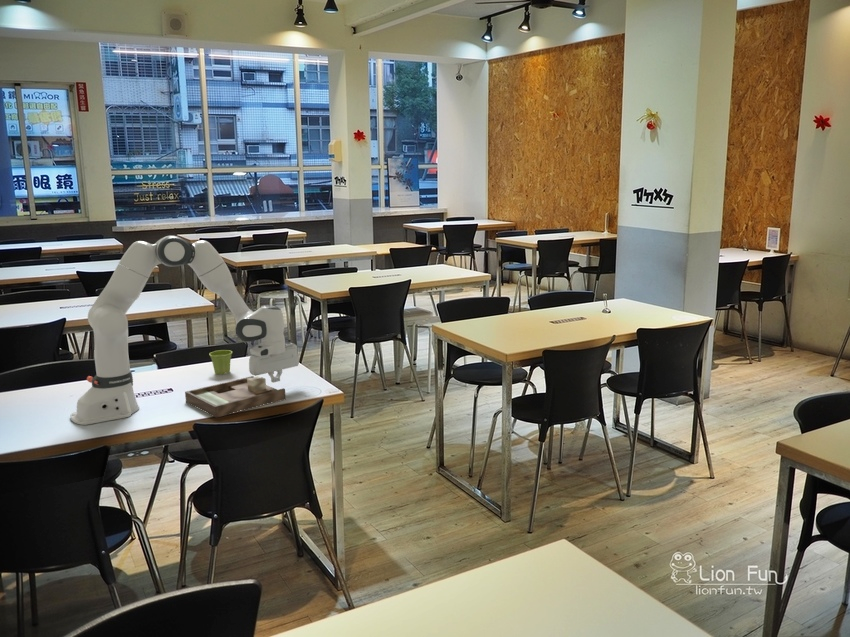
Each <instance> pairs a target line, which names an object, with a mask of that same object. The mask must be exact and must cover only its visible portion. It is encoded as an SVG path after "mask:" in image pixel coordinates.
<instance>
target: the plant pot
mask: <svg viewBox="0 0 850 637" xmlns="http://www.w3.org/2000/svg"><path fill="white" fill-rule="evenodd" d="M232 355H233V351H232V350H229V349H220V350H214V351H212V352H209V357H210V359H211V362H212V366H213V371H214V374H216V375H225V374H229V373H230V372H231V360H232Z"/></svg>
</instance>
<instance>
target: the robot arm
mask: <svg viewBox="0 0 850 637" xmlns="http://www.w3.org/2000/svg"><path fill="white" fill-rule="evenodd" d="M158 265H164V266H166V267H170V268H171V267H173V268H175V267H181V266H185V265H188V266H189V267H190V268H191V269H192V270H193V271H194V273H195V274H196V277H197V278H198V279H199V281H200V282H201V283H202V284H201V285H203V286H204V287H205V289H207V290H208V291H209V292H211V293H214V294H216V295H217V296H219V298H221V299H222V301H224V303H225V305H226V306H227V307H228V309H229V311H230V312H231V314H232V315H233V317H234V324H235V334H236V336H237V338H239V340H241V341H243V342H247V343H248V342H253V341H254V342H255V341H259V340H261V342H260V343H258V344H256V345H254V346H253V347H251V348H250V349H249V354H251V355H250V357H249V359H248V360H249V362H248V368H249V369H248V372H249V373H250V374H251V375H252V376H254V377H257V376H261V375H264V374H268V376H269V377H270V379H271V380H270V381H271V383H273V384H274V383H278V382H281V376H282V373H283V370H285V369H291V368H295V367H298V366H299V364H300V358H299V353H298V345H297V344H295V343H294V342H291V343H286V338H285V337H286V336H285V335H284V334H285V332H284V330H285V320H284V315H283V311H282V309H281V308H280V307H278V306H276V305H272V304H266V305H263V304H262V305H261V306H260V307H259V308H258V309H257V310H253V309H252V308H250V307H249V306H248V305H247V303H246V302H245V300H244V298H243V297H242V295H241V294H240V293H239V291H238V290H237V287H236V286H235V283H234V279H233V276H232V273H231V271H230V269H229V267H228V266H227V264H226V262H225V261H224V259H223V258H222V256H221V255H220V253H219V252H218V251H217V249H216V248H215V247H214V246H213V245H212V244H211V243H210V242H209V241H207V240H203V239H202V240H198V241H195V242H192V243H191V242H189V241H187V240H185V239H184V238H181V237H180V236H178V235H175V234H174V235H172V234H171V235H166V236H164V237H161V238H159V239H158V240H157V241H155V242H154V243H150V242H147V241H144V240H137V241H135V242H133V243H131V245H130V246H129V247H128V249H127V250H126V251H125V252H124V254H123V255H122V257H121V258H120V260H119V262H118V264H117V265H116V267H115V269H114V271H113V273H112V275H111V277H110V279H109V280H108V282H107V284H106V285H105V287H104V288H103V289H102V291H101V292H100V294H99V295H98V297H97V298H96V299H95V301H94V303H93V305H91V307H90V309H89V310H88V313H87V322H88V324H89V326H90V327H91V328H92V331H93V336H94V337H93V342H94V345H93V346H94V349H93V350H94V352H93V355H94V356H93V357H94V364H95V365H94V366H95V372H96V374H95V375H94V377H93V376H92V375H91V376H90V375H88V376H87V377H86V381H87V382H88V383H90V384H91V387H90V388H89V389H88V390H87V391H86V392H84V393H83V394H82V395H80V397H79V398H78V400H77V402H76V411H74V412H72V413H71V414H70V418H69V419H70V420H71V422H73V423H75V424H78V425H81V426H84V425H85V426H86V425H87V426H88V425H92V424H98V423H103V422H109V421H113V420H119V419H125V418H129V417H131V416H132V415H131V414H134V413H136V412H137V411H139V410H140V406H139V404H138V401H137V398H136V396H135V392H134V387H133V386H134V383H133V382H134V378H133V373H132V370H131V368H130V367H131V366H130V358H129V322H128V321H129V320H128V317H127V315H126V314H127V312H128V311H129V309H130V308H131V307H132V306H133V304H134V303H135V301H136V300H138V298H139V297H140V295H141V294H142V292H143V290H144V288H145V287H146V285H147V284H146V283H147V282H148V280H149V279H150V276H151V274H152V272H153V271H154V269H155V267H157V266H158ZM275 372H277V373H276V376H274V375H275Z"/></svg>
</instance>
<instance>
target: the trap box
mask: <svg viewBox="0 0 850 637" xmlns="http://www.w3.org/2000/svg"><path fill="white" fill-rule="evenodd" d="M253 377H255V375H252V376H251V375H250V376H245V377H242V378H237V379H234V380H229V381H226V382H225V381H224V382H221V383H216V384H212V385H209V386H204V387H198V388H195V389H191V390H187V391H184V394H185V402H186V403H187V404H189V405H191V404H192V405H191V406H193V405H194V406H193V407H195V406H196V407H198V408H200V409H202V410H204V411H206V412H208V413H209V414H208V413H207V414H208V415H210V414H211V415H210V416H212V415H213V416H212V417H213V418H220V417H223V416H228V415H231V414H230V413H232V414H234V413H233V412H236V413H238V412H237V411H240V410H243V411H245V410H244V409H247V410H249V409H248V408H251V409H253V408H252V407H255V408H257V407H256V406H258V407H261V406H260V405H262V406H264V405H263V404H266V405H268V404H267V403H270V404H272V403H271V402H273V403H276V401H277V402H280V400H281V401H283V400H284V399H285V400H286V388H280V389H277V388H274V387H271V386H269V385H267V384H266V389H263V390H259V391H255V392H254V391H251V390H249V389H248V385H247V379H248V378H253ZM196 407H195V408H196ZM198 408H197V409H198ZM200 409H199V410H200ZM202 410H201V411H202ZM204 411H203V412H204ZM206 412H205V413H206ZM240 412H241V411H240ZM227 414H228V415H227Z"/></svg>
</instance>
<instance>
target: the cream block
mask: <svg viewBox="0 0 850 637" xmlns="http://www.w3.org/2000/svg"><path fill="white" fill-rule="evenodd" d="M266 383H267V382H266V378H264V377H262V376H261V375H257V376H254V377H253V378H248V379H247V385H248V389H249V390H251V391H254V392H255V391H259V390H263V389H266V385H267V384H266Z"/></svg>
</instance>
